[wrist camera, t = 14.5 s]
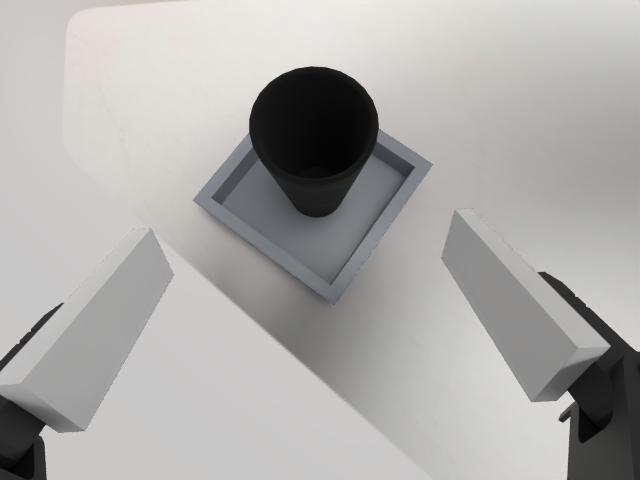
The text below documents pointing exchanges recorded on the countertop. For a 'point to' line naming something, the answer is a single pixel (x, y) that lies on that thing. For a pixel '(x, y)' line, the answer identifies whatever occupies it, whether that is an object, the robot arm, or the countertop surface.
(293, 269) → the box
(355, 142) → the cup
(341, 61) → the countertop surface
